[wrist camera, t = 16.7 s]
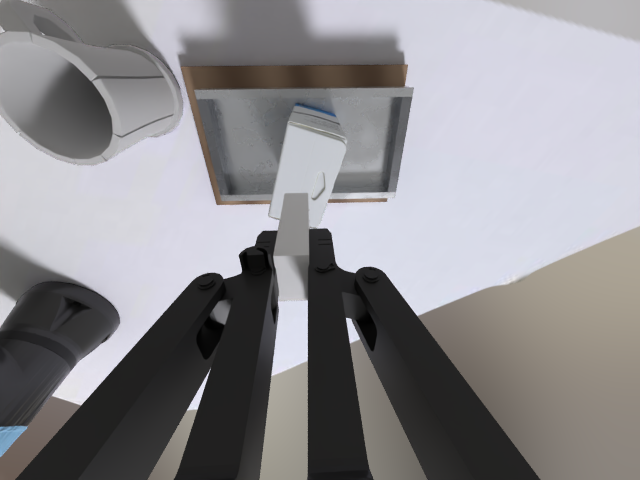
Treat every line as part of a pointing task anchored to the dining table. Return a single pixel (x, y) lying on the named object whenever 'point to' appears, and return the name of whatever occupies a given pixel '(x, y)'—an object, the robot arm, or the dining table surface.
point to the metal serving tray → (270, 125)
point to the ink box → (309, 160)
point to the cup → (79, 89)
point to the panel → (283, 78)
